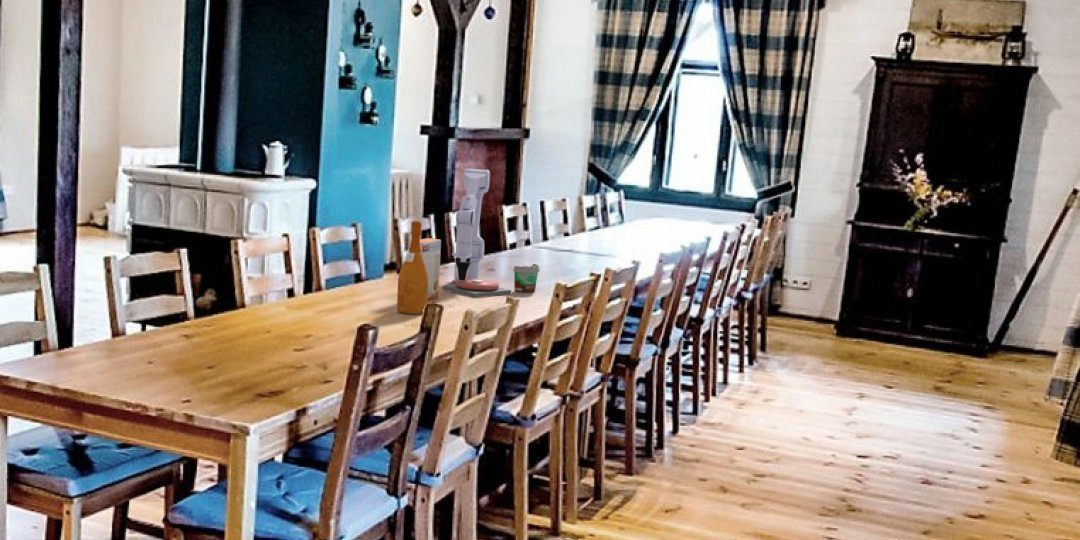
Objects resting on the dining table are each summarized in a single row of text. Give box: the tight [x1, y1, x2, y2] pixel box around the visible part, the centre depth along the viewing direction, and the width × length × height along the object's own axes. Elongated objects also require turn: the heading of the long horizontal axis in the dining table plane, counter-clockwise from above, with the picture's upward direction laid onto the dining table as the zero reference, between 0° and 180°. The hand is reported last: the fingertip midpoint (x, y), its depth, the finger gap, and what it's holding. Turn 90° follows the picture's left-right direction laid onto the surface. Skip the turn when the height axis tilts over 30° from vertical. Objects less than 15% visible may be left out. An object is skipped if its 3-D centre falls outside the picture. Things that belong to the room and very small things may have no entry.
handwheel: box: [455, 268, 500, 290], centre depth 405 cm, size 16×16×6 cm
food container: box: [513, 263, 541, 294], centre depth 413 cm, size 12×6×10 cm, turn 143°
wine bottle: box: [396, 220, 428, 315], centre depth 356 cm, size 10×10×30 cm
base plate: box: [442, 283, 512, 299], centre depth 406 cm, size 18×18×2 cm
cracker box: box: [408, 237, 442, 301], centre depth 381 cm, size 14×6×21 cm, turn 158°
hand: (461, 278), depth 405 cm, fingers open, 6 cm apart
